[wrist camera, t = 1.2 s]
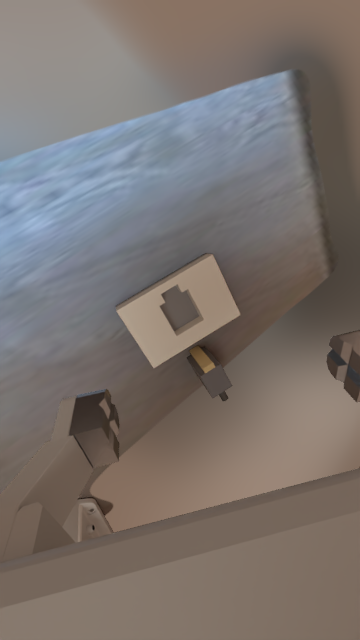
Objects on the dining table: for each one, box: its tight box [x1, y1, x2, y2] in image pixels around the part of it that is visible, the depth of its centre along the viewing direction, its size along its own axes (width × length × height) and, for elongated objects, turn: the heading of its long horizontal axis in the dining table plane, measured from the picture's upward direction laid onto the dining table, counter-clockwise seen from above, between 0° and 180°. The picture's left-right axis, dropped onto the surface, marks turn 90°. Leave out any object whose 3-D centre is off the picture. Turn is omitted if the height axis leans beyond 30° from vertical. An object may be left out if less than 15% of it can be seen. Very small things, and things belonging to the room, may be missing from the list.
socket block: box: [116, 253, 241, 368], centre depth 49 cm, size 12×18×4 cm, turn 118°
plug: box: [187, 345, 232, 401], centre depth 51 cm, size 9×4×8 cm, turn 28°
